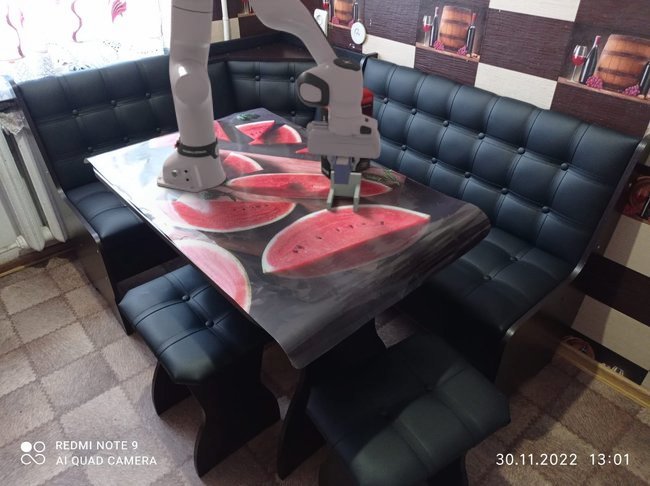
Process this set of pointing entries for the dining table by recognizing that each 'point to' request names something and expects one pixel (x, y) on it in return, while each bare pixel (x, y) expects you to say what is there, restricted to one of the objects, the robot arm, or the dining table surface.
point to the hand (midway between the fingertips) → (343, 169)
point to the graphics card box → (361, 165)
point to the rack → (346, 190)
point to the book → (342, 170)
